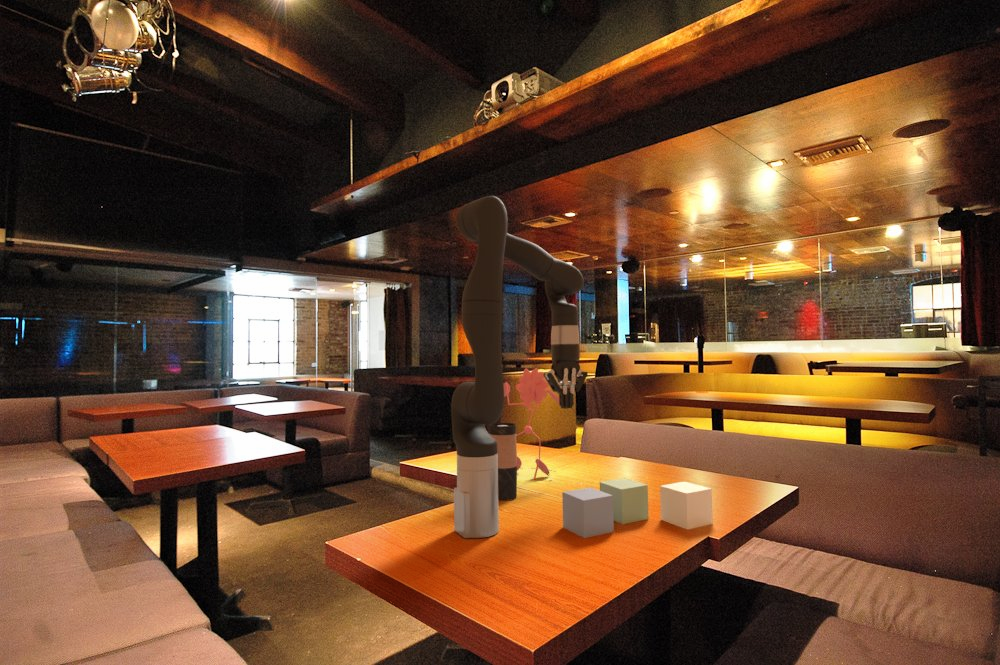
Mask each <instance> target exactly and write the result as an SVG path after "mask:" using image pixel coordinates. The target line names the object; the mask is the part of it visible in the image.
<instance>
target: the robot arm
mask: <svg viewBox="0 0 1000 665" xmlns="http://www.w3.org/2000/svg"><path fill="white" fill-rule="evenodd" d="M508 220H509V218H508V212H507V208H506V206H505V204H504V203H503V201H502V199H500V198H499V197H497V196H495V195H487V196H483V197H481V198H478V199H476V200H475V199H474V200H472V201H470V202H467V203H465V204H463V205H462V206H461V207H460V208H458V210H457V212H456V214H455V225H456V228H457V231H458V232H459V233H460V235H461V236H462V237H464V239H466V240H467V241H470V242H471V243H474V244H476V245H477V253H476V258H475V262H474V264H473V266H472V269H471V271H470V274H469V275H468V278H467V280H466V284H465V285H464V289H463V291H462V295H461V296H462V297H461V298H462V299H461V325H462V326H461V327H462V330H463V333H464V336H465V338H466V340H467V343H468V344H469V347H470V349H471V352H472V354H473V359H474V369H475V370H474V381H464V382H462V383H460V384H458V385H457V387H456V388H455V389H454V391H453V393H452V397H451V406H450V408H451V409H450V410H451V411H450V412H451V430H452V440H453V443H454V445H455V447H456V448H455V449H456V487H454V488H453V526H454V528H453V529H454V531H455V532H456V533H457V534H458V535H460V536H461V537H462V538H463V539H469V538H472V539H473V538H474V539H480V538H488V537H492V536H495V535H496V534H497V533H499V530H500V526H499V525H500V518H499V517H500V516H499V515H500V514H499V500H498V446H497V441H496V440H495V439H494V438H493V437H492V436H491V435H489V431H487V429H486V425H493V424H494V423H497V422H498V421H499V420H500V418H501V417H502V414H503V412H504V405H505V397H504V385H503V383H504V373H503V361H502V359H503V358H502V327H503V326H502V323H503V279H504V278H503V277H504V258H505V259H507V260H508V261H509V262H512V263H513V264H515V265H517V266H518V267H520V268H521V269H523V270H524V271H526V273H528V274H530V275H531V276H532V277H534V278H536V279H537V280H538V281H541V282H544V291H545V293H546V294H545V295H546V297H547V301H548V304H549V307H550V311H551V332H550V345H551V347H550V350H551V352H550V353H551V361H552V363H551V366H550V370H549V371H547V372H543V373H544V378H545V381H547V383H548V384H549V387H550V389H551V391H552V392H553V393H554V392H555V393H557V394H558V398H559V403H558V405H559V407H560V408H561V409H565V410H566V409H572V408H573V406H574V405H575V404H574V394H575V393H576V392H580V390H581V388H582V387H583V385H584V382H585V381H586V379H587V377H588V371H584V370H583V369H582V368H581V365H580V362H579V361H580V358H581V354H580V353H581V352H580V350H581V346H580V331H579V330H580V329H579V311H578V306H577V305H576V304H573V303H569V302H567V299H566V297H565V296H567V295H575V294H577V293H579V292H581V290H582V289H583V288H584V285H585V284H584V283H585V280H584V277H583V274H582V272H581V271H580V270H579V269H578V268H577V267H576V266H574V265H572V264H570V263H568V262H566V261H563V260H561V259H558V258H556V257H553V256H552V255H551V254H550V252H549V253H548V252H547V251H546V250H545V249H543V248H542V247H540V245H538V244H536V243H533V242H531V241H529V240H527V239H524V238H521V237H518V236H515V235H513V234H510V233H508V223H509V222H508Z"/></svg>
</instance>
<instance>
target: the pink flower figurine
mask: <svg viewBox="0 0 1000 665" xmlns="http://www.w3.org/2000/svg"><path fill="white" fill-rule="evenodd" d="M544 373H545V372H543V371H539V369H538V368H534V369H532V370H531V371H530V370H529V369H528V368H524V370H523V372H522V375H521V374H520V376H519V378H518V379H519V383H517V384H516V385H515V390H516V391H517V392H519V393H520V395H519V400H522V401H521V402H514V403H513V402H511V403H510V393H511V386H510V384H509V383H508V381H506V382H503V385H504V398H505V397H506V398H507V405H508V406H514V405H515V406H516V405H518V406H519V405H522V406H524V407H525V408H527V409H528V410H530V411H531V412H530V417H529V422H528V425H526V426H524V428H523V431H522V432H519V433H518V434H517V433H516V437H518V436H519V435H521V434H524V433H525V434H526V435H530V434H533V435H534V436H535V437H536V438H537V439H538V440H539V442H538V443H539V446H538V458H535V464H536V467H532V469H535V472H534V475H533V479H534V480H536V478H537V473H538V470H540V471H541V472H542V473H544V474H545V475H546V476H548V477H550V472H551V471H552V472H555V473H556V472H557V471H555V470H551V469H549V468H548V466H547V465H546V464H545V463H544V462H543V460H541V438H540V437H539V436H538V435H537V433H535V432H534V431H533V428H532V426H531V421H532V417H533V414H534V411H533V410H535V411H536V410H537V409H538V407H539V405H540V404H541V403H542V401H543V399H545V398H546V397H547V394H549V396H550V397H551V398H552V399H553V400H554V401H555V402H556V403H557V404H559V396H557V395H556V394H555V393H554V392H553V391H552V390H550V389H549V387H550V385H549V384H548V382H547V381H546V379H545V380H544V378H545V377H544ZM533 402H534V403H535V405H536V406H535V407H534V406H532V404H533ZM522 464H523V463H522V460H521V457H519V456H517V472H518V471H519V470H520V469H521V468H522ZM552 481H553V480H549V482H552Z"/></svg>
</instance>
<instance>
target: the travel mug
mask: <svg viewBox="0 0 1000 665" xmlns="http://www.w3.org/2000/svg"><path fill="white" fill-rule="evenodd" d="M488 427H489V428H488V430H489V431H488V433H489V435H491V436H492V437H493V438H494V439H495V440H496V441H497V446H498V501H501V500H502V501H503V502H505V501H512V500H515V499H516V498H517V490H518V489H517V488H518V487H517V486H518V485H517V484H518V483H517V482H518V480H517V479H518V471H517V457H518V456H517V454H518V450H517V436H516V435H517V424H516V423H513V422H495V423H493V424H488ZM514 498H515V499H514ZM511 499H512V500H511ZM504 500H505V501H504Z"/></svg>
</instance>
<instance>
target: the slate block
mask: <svg viewBox="0 0 1000 665" xmlns="http://www.w3.org/2000/svg"><path fill="white" fill-rule="evenodd" d="M561 497H562V498H561V499H562V528H563V529H566V530H568V531H570V532H571V533H573V534H574V535H577V536H579V537H581V538H583V539H587V538H592V537H596V536H601V535H605V534H610V533H614V532H615V531H614V530H615V529H614V526H615V525H614V522H615V521H614V519H613V495H610V494H608V493H605V492H602V491H600V489H596V488H593V487H585V488H579V489H573V490H572V489H571V490H568V491H567V490H566V491H562V496H561Z"/></svg>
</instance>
